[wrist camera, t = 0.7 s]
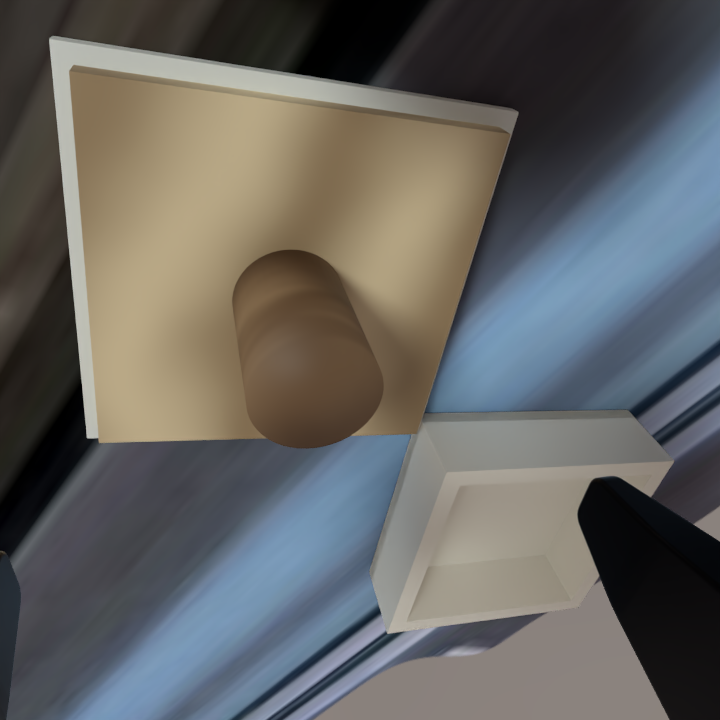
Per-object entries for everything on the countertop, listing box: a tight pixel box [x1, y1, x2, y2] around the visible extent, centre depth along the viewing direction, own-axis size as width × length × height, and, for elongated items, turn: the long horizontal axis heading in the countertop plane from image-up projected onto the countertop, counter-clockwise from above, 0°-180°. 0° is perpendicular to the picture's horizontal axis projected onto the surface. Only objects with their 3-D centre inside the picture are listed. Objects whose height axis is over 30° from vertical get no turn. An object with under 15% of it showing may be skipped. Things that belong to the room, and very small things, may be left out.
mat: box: [49, 36, 519, 438], centre depth 20 cm, size 13×13×1 cm
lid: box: [69, 65, 511, 448], centre depth 18 cm, size 12×12×6 cm
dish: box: [369, 410, 674, 634], centre depth 29 cm, size 11×11×4 cm
